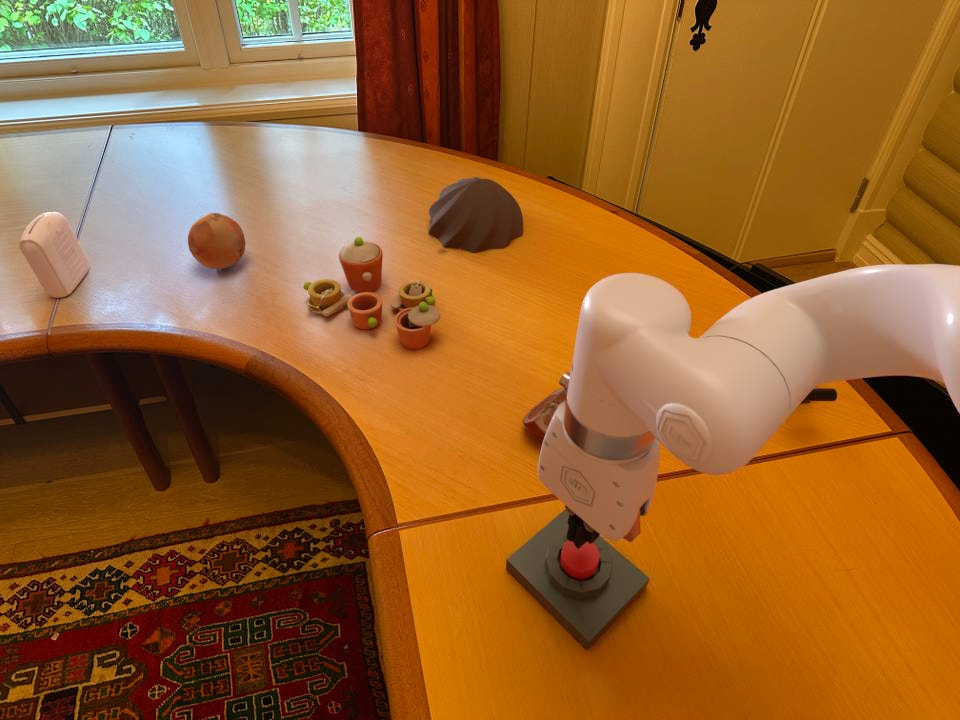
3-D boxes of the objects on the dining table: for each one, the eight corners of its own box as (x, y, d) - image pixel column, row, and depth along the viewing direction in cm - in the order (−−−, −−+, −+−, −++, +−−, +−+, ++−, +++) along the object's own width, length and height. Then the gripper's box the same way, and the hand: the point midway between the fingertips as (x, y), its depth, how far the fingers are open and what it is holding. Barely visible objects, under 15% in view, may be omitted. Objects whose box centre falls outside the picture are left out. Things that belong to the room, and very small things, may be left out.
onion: (210, 248, 117) (193, 201, 110) (259, 251, 116) (246, 204, 109) (187, 277, 110) (167, 228, 103) (240, 280, 109) (224, 232, 102)
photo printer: (71, 265, 112) (37, 205, 104) (94, 265, 112) (63, 204, 104) (45, 299, 105) (7, 237, 96) (70, 298, 105) (35, 236, 96)
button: (605, 563, 65) (607, 555, 64) (580, 587, 63) (582, 579, 62) (577, 538, 67) (578, 530, 66) (552, 560, 65) (553, 552, 64)
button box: (646, 588, 67) (653, 570, 64) (586, 650, 62) (591, 634, 59) (565, 517, 73) (568, 498, 70) (505, 569, 68) (506, 550, 66)
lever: (830, 404, 79) (840, 397, 77) (788, 404, 79) (797, 397, 77) (806, 317, 85) (814, 308, 83) (767, 317, 85) (774, 308, 83)
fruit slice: (547, 399, 87) (549, 375, 84) (586, 421, 84) (591, 397, 81) (512, 434, 83) (513, 409, 79) (553, 459, 80) (556, 434, 76)
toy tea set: (294, 308, 103) (281, 260, 96) (353, 264, 113) (346, 218, 106) (418, 364, 93) (414, 314, 86) (472, 310, 103) (472, 262, 96)
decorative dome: (505, 261, 114) (506, 213, 107) (410, 239, 119) (406, 193, 112) (536, 213, 127) (540, 168, 120) (450, 196, 132) (449, 151, 125)
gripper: (513, 388, 51) (505, 508, 64) (659, 501, 43) (616, 613, 56) (572, 349, 55) (553, 470, 68) (716, 447, 47) (664, 563, 60)
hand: (582, 535), depth 62 cm, fingers closed
